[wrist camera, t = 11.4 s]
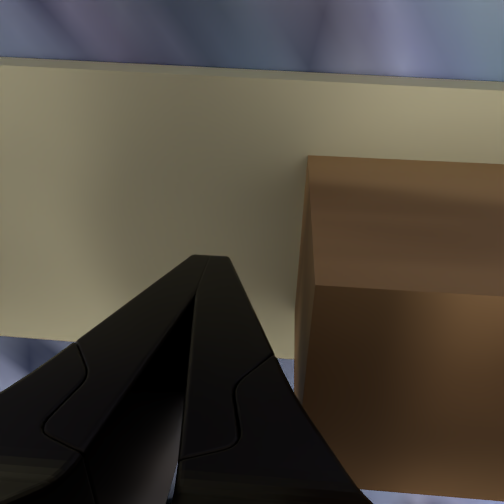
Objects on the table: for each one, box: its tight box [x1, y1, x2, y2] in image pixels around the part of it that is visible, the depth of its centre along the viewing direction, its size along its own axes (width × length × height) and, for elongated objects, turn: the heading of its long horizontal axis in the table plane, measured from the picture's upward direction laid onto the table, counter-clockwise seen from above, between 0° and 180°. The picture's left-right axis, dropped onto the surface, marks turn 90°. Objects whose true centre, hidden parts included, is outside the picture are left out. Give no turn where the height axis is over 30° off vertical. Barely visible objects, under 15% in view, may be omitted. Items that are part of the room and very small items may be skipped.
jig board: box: [0, 57, 504, 359], centre depth 11 cm, size 7×26×1 cm, turn 88°
